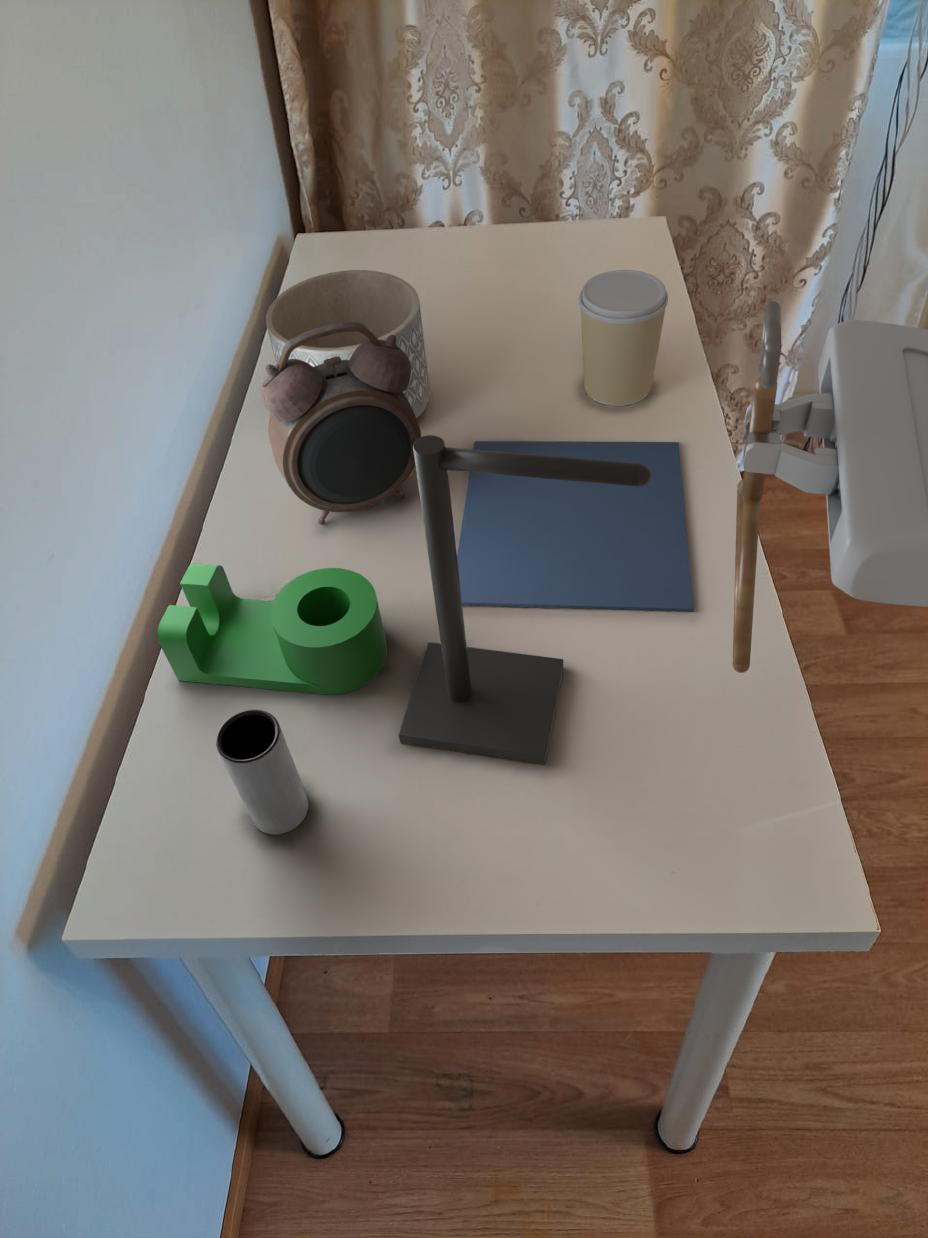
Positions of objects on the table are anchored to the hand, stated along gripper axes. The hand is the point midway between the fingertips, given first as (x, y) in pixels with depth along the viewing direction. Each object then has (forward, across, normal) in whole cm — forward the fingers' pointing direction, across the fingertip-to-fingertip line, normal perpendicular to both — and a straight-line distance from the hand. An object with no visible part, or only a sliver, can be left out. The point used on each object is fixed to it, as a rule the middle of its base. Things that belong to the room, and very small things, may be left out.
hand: (744, 436), depth 52 cm
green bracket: (+35, -2, +30) cm, 46 cm away
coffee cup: (+10, -45, +31) cm, 56 cm away
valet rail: (+13, +1, +29) cm, 32 cm away
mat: (+12, -22, +30) cm, 39 cm away
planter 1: (+30, +14, +29) cm, 44 cm away
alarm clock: (+34, -22, +30) cm, 51 cm away
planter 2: (+38, -38, +31) cm, 62 cm away
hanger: (-2, 0, +11) cm, 12 cm away
